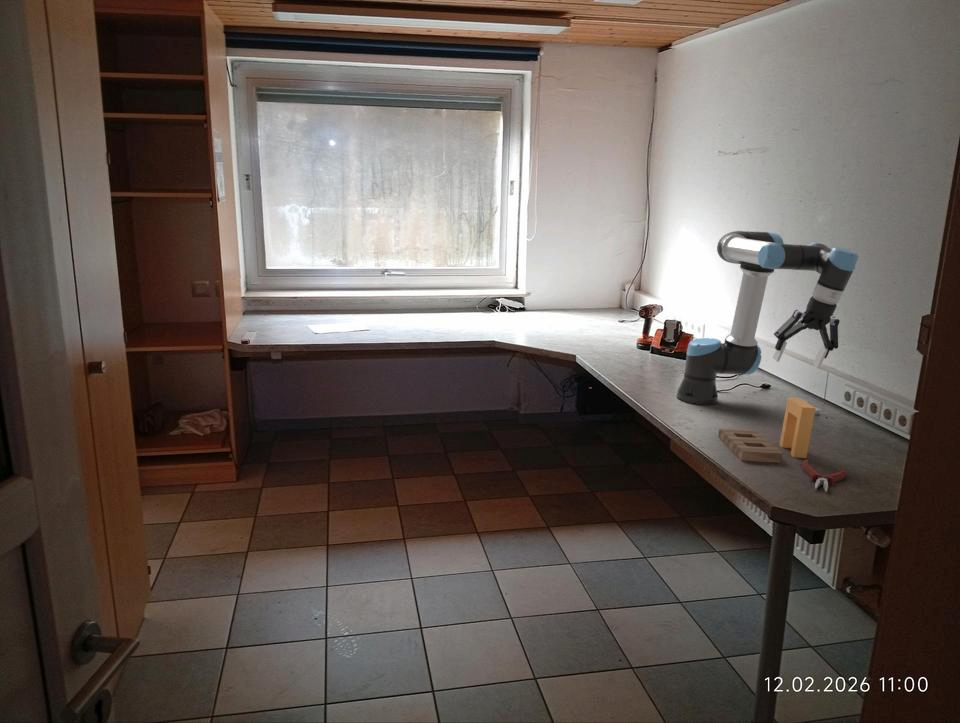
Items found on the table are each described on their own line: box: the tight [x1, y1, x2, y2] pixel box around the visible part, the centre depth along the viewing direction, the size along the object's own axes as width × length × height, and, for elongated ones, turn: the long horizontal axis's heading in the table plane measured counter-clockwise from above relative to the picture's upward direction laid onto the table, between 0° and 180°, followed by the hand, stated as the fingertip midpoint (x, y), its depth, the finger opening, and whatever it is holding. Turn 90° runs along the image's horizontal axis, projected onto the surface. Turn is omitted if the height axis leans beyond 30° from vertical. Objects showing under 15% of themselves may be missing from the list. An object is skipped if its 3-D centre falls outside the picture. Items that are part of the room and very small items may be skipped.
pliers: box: [801, 459, 847, 493], centre depth 193 cm, size 12×20×3 cm, turn 152°
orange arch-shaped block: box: [779, 397, 817, 459], centre depth 212 cm, size 10×4×16 cm, turn 0°
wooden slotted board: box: [717, 427, 783, 464], centre depth 214 cm, size 20×12×3 cm, turn 0°
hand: (795, 363), depth 212 cm, fingers open, 13 cm apart
